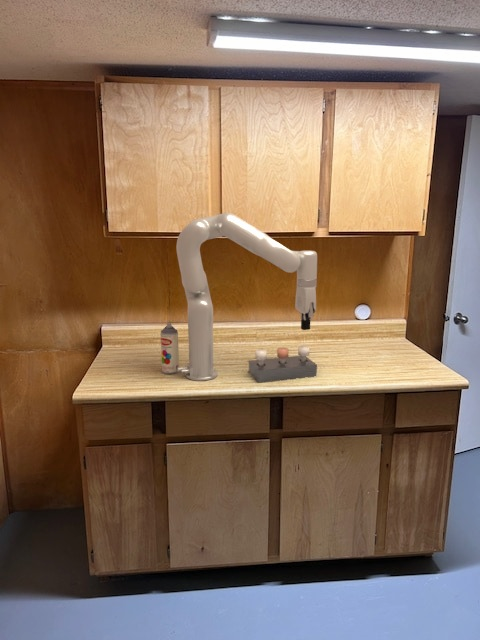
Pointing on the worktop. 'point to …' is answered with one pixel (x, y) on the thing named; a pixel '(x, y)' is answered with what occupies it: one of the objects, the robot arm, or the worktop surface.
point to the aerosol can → (169, 350)
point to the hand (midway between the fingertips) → (305, 329)
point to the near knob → (261, 356)
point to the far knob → (303, 352)
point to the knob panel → (282, 369)
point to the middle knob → (282, 354)
